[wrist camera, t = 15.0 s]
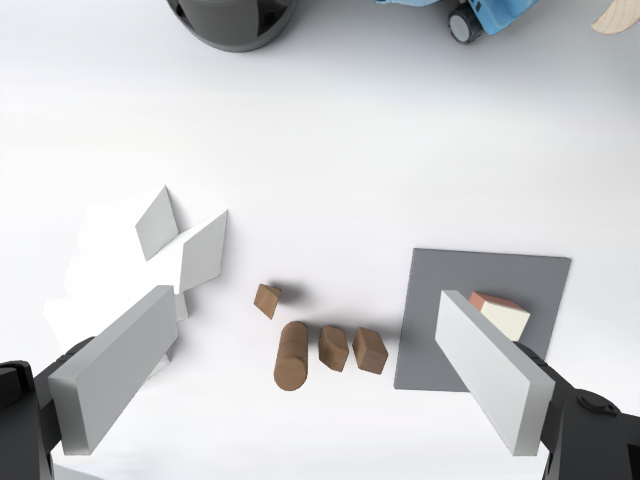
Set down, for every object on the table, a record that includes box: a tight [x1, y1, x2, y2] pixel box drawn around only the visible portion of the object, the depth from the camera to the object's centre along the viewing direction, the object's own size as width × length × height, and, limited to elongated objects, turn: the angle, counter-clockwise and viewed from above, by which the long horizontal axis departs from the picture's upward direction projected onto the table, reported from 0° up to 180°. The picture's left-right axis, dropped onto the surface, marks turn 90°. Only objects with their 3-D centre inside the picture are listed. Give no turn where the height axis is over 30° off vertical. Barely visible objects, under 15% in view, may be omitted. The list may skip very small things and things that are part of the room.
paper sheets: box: [43, 185, 228, 383], centre depth 42 cm, size 35×20×6 cm, turn 149°
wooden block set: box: [254, 284, 388, 391], centre depth 41 cm, size 18×9×10 cm, turn 71°
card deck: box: [469, 291, 530, 342], centre depth 44 cm, size 6×10×4 cm, turn 165°
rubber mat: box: [394, 248, 571, 392], centre depth 47 cm, size 22×22×1 cm
